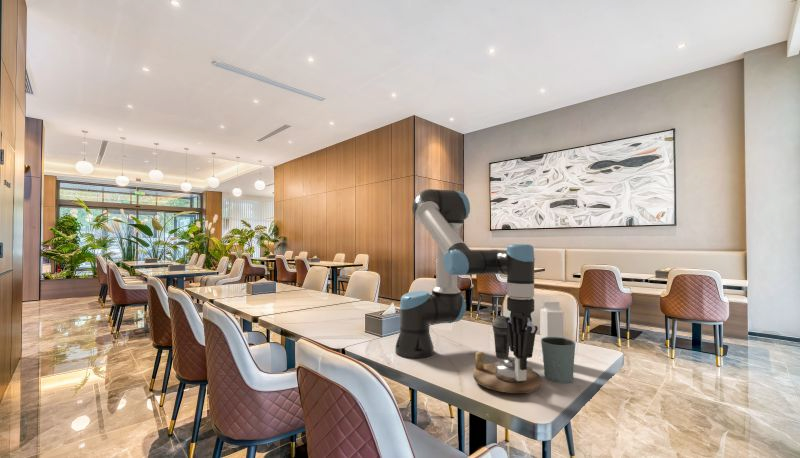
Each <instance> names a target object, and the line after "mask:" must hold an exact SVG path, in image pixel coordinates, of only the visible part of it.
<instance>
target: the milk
mask: <svg viewBox="0 0 800 458" xmlns="http://www.w3.org/2000/svg"><path fill="white" fill-rule="evenodd" d="M539 326H540V327H539V332H540V334H539V337H540V338H539V343H540V344H539V346H540V347H539V348H540V350H539V352H540V353H539V354H540V355H539V357H540V361H541V362H543V353H542V344H541V339H542V338H545V337H561V338H565V337H564V332H565V331H564V311H563V309H562V308H561V306H560V302H559V301H543V306H542V307H541V308H539Z"/></svg>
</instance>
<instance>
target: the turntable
mask: <svg viewBox="0 0 800 458" xmlns="http://www.w3.org/2000/svg"><path fill="white" fill-rule="evenodd" d="M496 363H497V362H492V363H489V362H488V363H485V353H484V352H482V351H477V352H475V368H474V369H473V379H474V381H475V382H476V383H478V384H479V385H480V386H482V387H484V388H487V389H489V390H493V391H497V392H502V393H509V394H523V393H524V394H526V393H532V392H535V391H538V390H539V389H540V388H541V386H542V377H541V375H540V374H539V373H538V372H536V371H535V370H533V369H532V370H530V369H528V368H527V380H526V381H525V382H523V383H507V382H503V381H501V380H499V379H497V378H496V377H495V364H496Z"/></svg>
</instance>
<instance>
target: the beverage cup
mask: <svg viewBox="0 0 800 458" xmlns="http://www.w3.org/2000/svg"><path fill="white" fill-rule="evenodd" d="M506 317H507V316H505V315H504V304H502V305H501V315H498V316H496V317H495V318H494V320H493V321H492V322H493V323H492V325H491V326H492V331H493V339H494V348H495V357H496V358H497V359H500V360H504V359H509V356H510V345H509V337H508V328H507V323H506V320H505V318H506Z"/></svg>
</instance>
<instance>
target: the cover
mask: <svg viewBox="0 0 800 458" xmlns="http://www.w3.org/2000/svg"><path fill="white" fill-rule="evenodd" d="M495 363H496V364H495V377H496V378H497V379H499V380H501V381H503V382H507V383H523V382H525V381H526V380H527V369H526V380H524V381H517V380H516V379H515V358H508V359H503V360H500V361H497V362H495Z"/></svg>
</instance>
